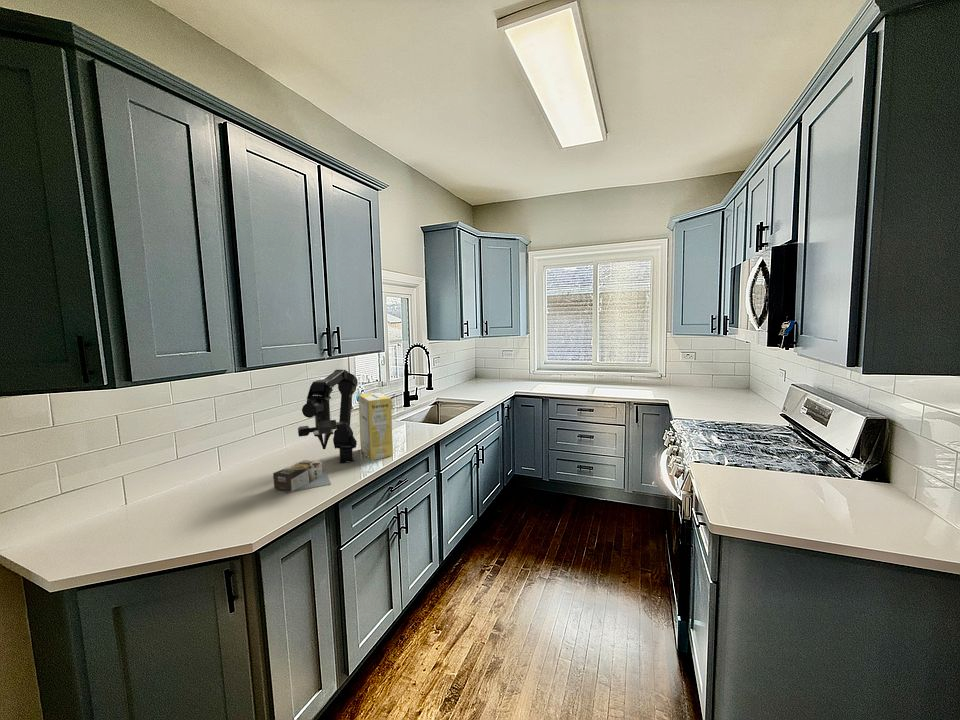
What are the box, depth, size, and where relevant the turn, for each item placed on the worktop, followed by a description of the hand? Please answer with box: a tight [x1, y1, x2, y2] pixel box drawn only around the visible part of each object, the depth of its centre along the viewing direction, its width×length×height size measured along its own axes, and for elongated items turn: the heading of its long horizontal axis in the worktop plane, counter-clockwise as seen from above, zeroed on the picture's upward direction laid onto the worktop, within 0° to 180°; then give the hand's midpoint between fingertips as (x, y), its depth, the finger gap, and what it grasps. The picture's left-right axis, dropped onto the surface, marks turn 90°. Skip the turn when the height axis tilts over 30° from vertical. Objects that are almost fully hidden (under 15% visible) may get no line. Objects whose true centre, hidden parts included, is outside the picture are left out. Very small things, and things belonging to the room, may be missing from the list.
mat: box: [285, 468, 332, 494], centre depth 162 cm, size 18×16×1 cm
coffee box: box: [272, 459, 323, 493], centre depth 158 cm, size 9×6×16 cm
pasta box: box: [358, 392, 394, 461], centre depth 194 cm, size 18×10×28 cm, turn 31°
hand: (324, 449), depth 164 cm, fingers closed
